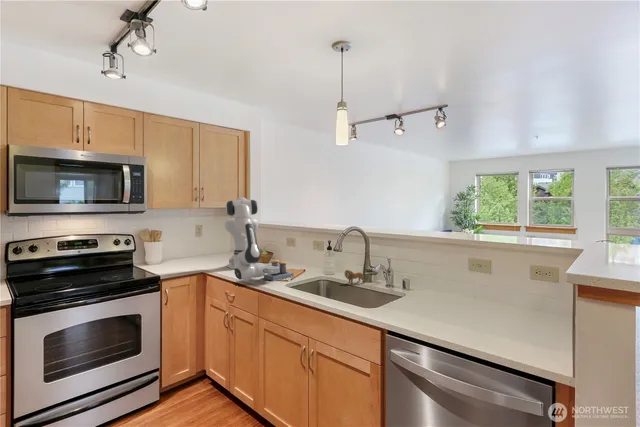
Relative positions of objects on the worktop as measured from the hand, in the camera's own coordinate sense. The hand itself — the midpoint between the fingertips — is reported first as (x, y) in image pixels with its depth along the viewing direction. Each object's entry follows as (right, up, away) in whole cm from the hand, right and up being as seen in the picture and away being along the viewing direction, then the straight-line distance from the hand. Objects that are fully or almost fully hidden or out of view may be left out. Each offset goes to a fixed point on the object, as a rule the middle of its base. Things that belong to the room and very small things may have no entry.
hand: (276, 266), depth 222 cm
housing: (+2, -8, +2) cm, 8 cm away
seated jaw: (+4, -7, +4) cm, 9 cm away
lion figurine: (+51, -8, -16) cm, 54 cm away
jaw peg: (-1, -6, -1) cm, 6 cm away
